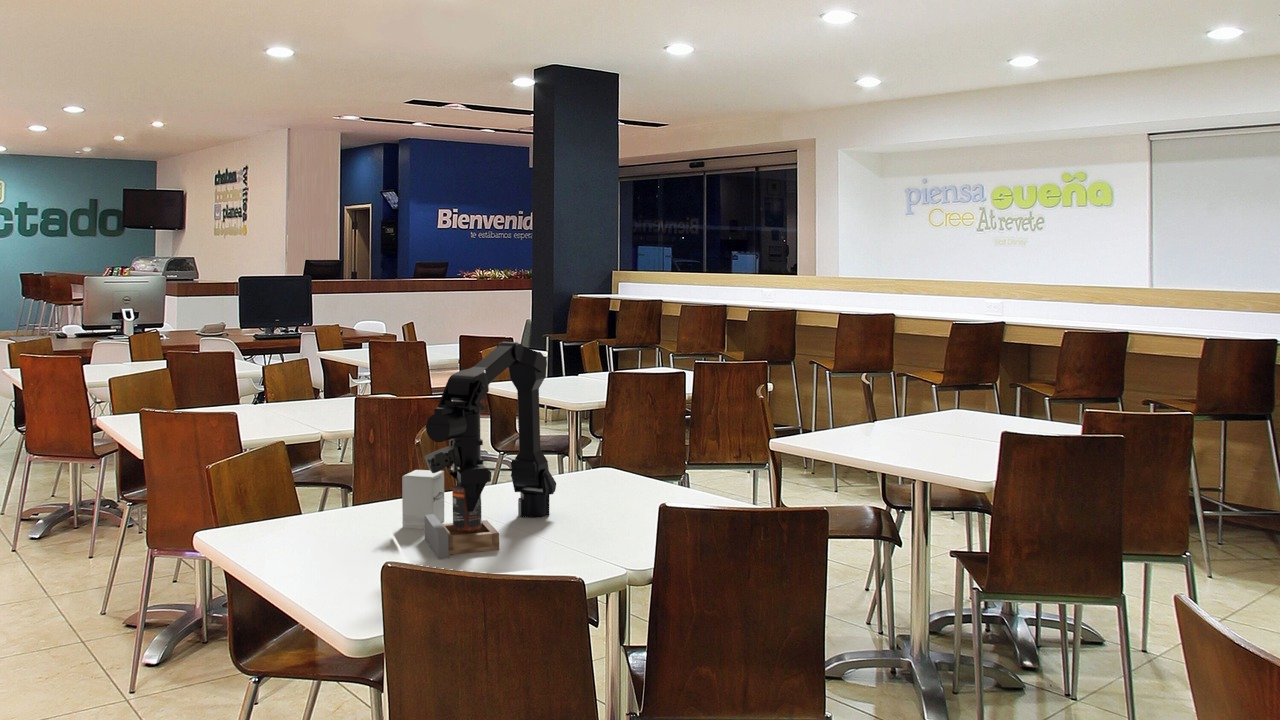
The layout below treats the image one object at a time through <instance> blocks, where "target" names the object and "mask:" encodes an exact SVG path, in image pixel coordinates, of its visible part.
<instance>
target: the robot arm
mask: <svg viewBox="0 0 1280 720" xmlns="http://www.w3.org/2000/svg"><path fill="white" fill-rule="evenodd" d="M547 362H548V361H547V359H546V356H544V355H543V353H542V352H540V351H536V350H534V349H532V348H529V347H527V346H524V345H523V344H522V343H519V342H518V341H516V342H515V341H502V342H498V344H497V345H496V348H494V349H493V350H492V351H491V352H490V353H488V354H487V355H485V356H484V357H483V358H482V359H481V360H480V361H478V363H476V364H475V365H474V366H472V367H470V368H466V369H461V370H460V371H459V370H458V371H456V372H455V373H453V374H451V375H450V376H449V378H448V379H447V382H446V383H445V386H444V389H443V392H442V393H441V394H442V395H441V396H440V399H439V402H438V405H437V407H435V408H434V409H433V413H434V414H432V415H431V416H430V417H429V418H428V420H427V422H426V424H425V431H426V434H427V436H428V437H429V439H430V440H432V441H433V442H435V443H443V442H447V441H448V443H449V444H448V446H447V445H446V446H445V447H442V448H439V449H437V450H435V451H433V452H430V453H428V454H426V455H424V459H425V462H426V464H427V467H428V470H430V471H431V472H432V473H436V472H439V471H442V470H444V469H446V470H447V471H446V472H447V473H449V475H450V476H451V477H453V478H454V480H455V483H456V485H457V482H458V483H459V484H460V485H461V486H462V487H463V488H464V494H465V499H466V505H467V510H468V512H472V511H474V508H475V506H476V504H477V502H478V499H479V497H480V495H481V496H482V493H483V490H484V488H485V486H486V484H487V483H490V482H492V471H490V470H489V469H488V468H487V467H486V466H485V465H484V460H483V458H481V454H482V453H481V452H482V450H481V447H482V446H483V445H484V443H483V442H484V441H483V439H482V438H481V412H483V411H485V410H486V406H485V405H484V404H482V403H481V402H482V400H483V399H484V398H485V396H486V395H487V394H488V393H489V391H490V390H489V389H490V388H489V387H490V384H491V383H492V382H493V381H494V380H496V378H498V377H499V375H501V374H502V373H503V372H504V371H505V370H508V372H509V373H508V374H509V379H510V381H511V383H512V384H513V386H514V387H515V389H516V391H517V394H516V395H517V419H518V420H517V421H518V452H517V455H516V456H515V458H514V459H512V460H511V461H510V466H511V473H510V477H511V481H512V486H513V490H514V492H515V493H520V497H518V499H517V500H518V501H517V502H518V506H517V508H518V509H517V510H518V512H517V513H518V516H519V517H520V518H528V519H529V518H530V519H534V518H535V519H536V518H537V519H538V518H545V517H546V516H547V517H549V516H550V495H554V494H555V492H556V489H557V482H556V479H555V478H554V476H553V475H552V474H551V472H550V470H549V461H548V459H547V457H546V456H545V455H544V452H543V451H542V450H541V449H542V448H541V426H540V425H541V424H540V423H541V422H540V420H541V419H540V417H541V416H540V388H541V386H542V384H543V382H544V381H545V378H546V374H547V373H546V372H547V367H548V366H547V365H548V363H547ZM450 467H451V468H450ZM457 476H458V480H457Z"/></svg>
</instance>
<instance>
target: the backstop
mask: <svg viewBox="0 0 1280 720" xmlns="http://www.w3.org/2000/svg"><path fill="white" fill-rule="evenodd" d="M442 524H443V523H440V521H439V520H438V519H437V517H436V516H435V515H434V514H428V515H425V529H424V540H425V541H426V542H427V544H428V546H429V548H430V549H431V550H432V552H433V553H434V555H435V556H436V558H437V559H438V560H445V559H449V555H448V532H447V531H446V529H445V528H444V527H443V525H442Z"/></svg>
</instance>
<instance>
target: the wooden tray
mask: <svg viewBox="0 0 1280 720" xmlns="http://www.w3.org/2000/svg"><path fill="white" fill-rule="evenodd" d="M441 524H442V525H443V527H444V528H445V529H446V531H447V532H448V556H449V555H458V554H467V553H468V554H469V553H476V552H478V553H479V552H488V551H496V550H497V551H499V550H500V532H499V531H498V530H497V529H496V528H495V527H494V526H493V525H492V524H491V523H490V522H489V521H488V519H485V520H483V519H482V523H481V528H480V529H478V530H476V531H472V532H459V531H456V530H455V529H454V528H453V522H452V523H451V522H450V523H441Z"/></svg>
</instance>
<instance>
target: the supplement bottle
mask: <svg viewBox="0 0 1280 720" xmlns="http://www.w3.org/2000/svg"><path fill="white" fill-rule="evenodd" d="M457 480H458V476H457ZM482 521H483V518H482V494H481V495H480V497H479V499H478V502H477V504H476V506H475V508H474V511H472V512H468V510H467V505H466V499H465V494H464V488H463V487H462V486H461V485H460V484H459V483H458V482H457V484H456V485H455V486H453V488H452V523H453V528H454V529H455V530H456V531H459V532H472V531H476V530H478V529H480V528H481V523H482Z"/></svg>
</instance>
